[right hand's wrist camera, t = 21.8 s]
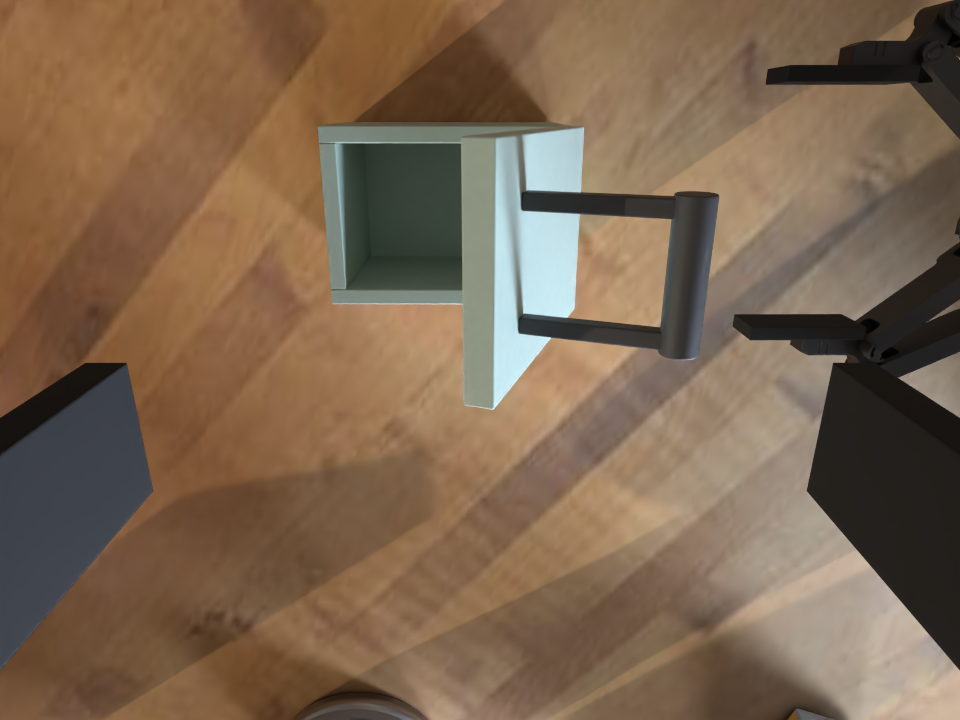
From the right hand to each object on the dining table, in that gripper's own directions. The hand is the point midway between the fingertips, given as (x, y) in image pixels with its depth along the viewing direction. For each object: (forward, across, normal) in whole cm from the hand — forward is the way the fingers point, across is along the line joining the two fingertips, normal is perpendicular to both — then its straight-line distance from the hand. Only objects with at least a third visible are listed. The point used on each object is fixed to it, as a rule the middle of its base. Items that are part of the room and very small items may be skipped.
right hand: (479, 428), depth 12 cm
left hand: (+26, -15, 0) cm, 30 cm away
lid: (+18, -2, 0) cm, 18 cm away
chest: (+34, +2, 0) cm, 34 cm away
